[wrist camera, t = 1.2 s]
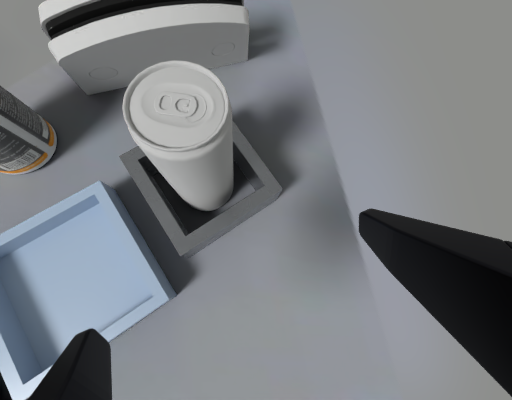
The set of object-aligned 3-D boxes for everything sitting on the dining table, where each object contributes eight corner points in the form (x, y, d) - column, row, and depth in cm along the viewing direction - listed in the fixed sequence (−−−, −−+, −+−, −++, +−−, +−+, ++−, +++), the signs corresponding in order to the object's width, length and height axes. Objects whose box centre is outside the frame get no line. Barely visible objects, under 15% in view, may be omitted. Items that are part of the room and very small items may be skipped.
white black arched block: (235, 23, 27) (250, -65, 17) (247, 67, 28) (268, 5, 18) (75, 54, 25) (-13, -30, 15) (92, 101, 25) (18, 51, 15)
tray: (177, 295, 20) (169, 299, 17) (45, 386, 18) (15, 406, 15) (114, 189, 22) (99, 180, 19) (-13, 260, 19) (-48, 260, 17)
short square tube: (275, 200, 22) (282, 189, 19) (189, 257, 21) (180, 256, 17) (222, 125, 24) (219, 102, 21) (136, 172, 22) (119, 156, 19)
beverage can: (229, 216, 22) (223, 161, 10) (174, 209, 22) (104, 144, 10) (236, 165, 23) (239, 66, 11) (185, 158, 23) (134, 49, 11)
